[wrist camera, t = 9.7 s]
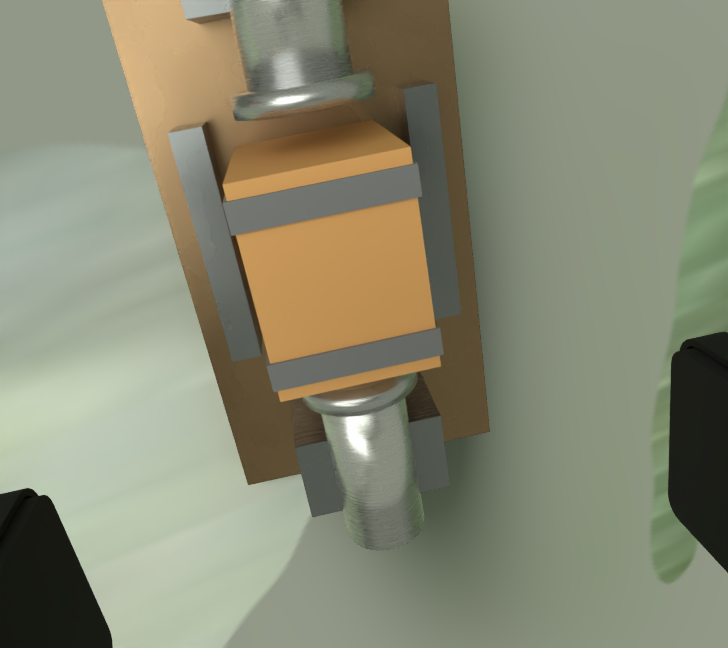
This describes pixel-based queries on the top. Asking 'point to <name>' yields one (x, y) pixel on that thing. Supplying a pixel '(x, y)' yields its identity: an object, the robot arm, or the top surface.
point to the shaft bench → (221, 250)
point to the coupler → (334, 257)
